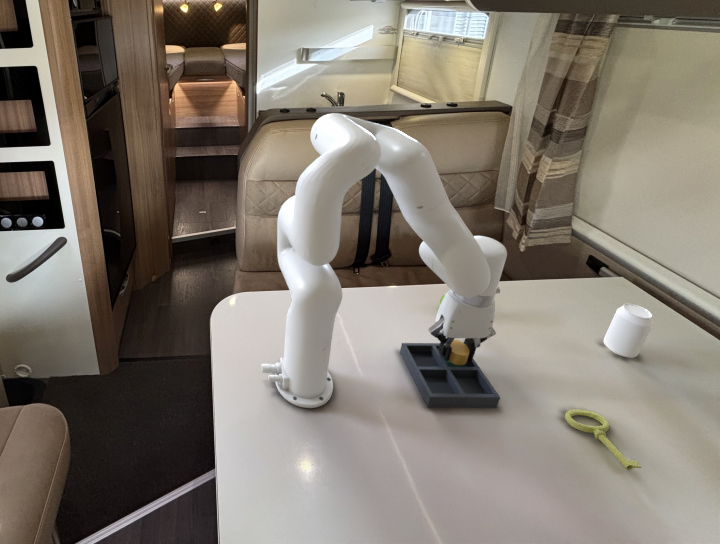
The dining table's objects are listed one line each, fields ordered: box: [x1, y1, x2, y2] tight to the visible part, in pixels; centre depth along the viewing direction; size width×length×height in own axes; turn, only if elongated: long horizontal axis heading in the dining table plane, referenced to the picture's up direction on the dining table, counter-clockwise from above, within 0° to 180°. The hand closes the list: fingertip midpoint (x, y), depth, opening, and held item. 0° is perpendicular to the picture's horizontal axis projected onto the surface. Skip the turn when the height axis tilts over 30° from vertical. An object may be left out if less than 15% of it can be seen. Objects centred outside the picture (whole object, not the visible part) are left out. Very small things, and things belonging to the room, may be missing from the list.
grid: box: [399, 342, 501, 409], centre depth 95 cm, size 14×14×3 cm
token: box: [448, 339, 470, 365], centre depth 97 cm, size 5×5×3 cm
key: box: [564, 408, 642, 471], centre depth 82 cm, size 7×12×2 cm, turn 16°
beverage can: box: [603, 302, 654, 359], centre depth 100 cm, size 6×6×12 cm
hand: (455, 355), depth 97 cm, fingers closed on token, 4 cm apart
